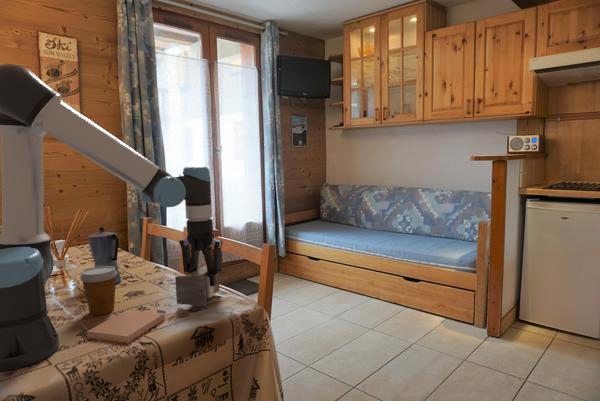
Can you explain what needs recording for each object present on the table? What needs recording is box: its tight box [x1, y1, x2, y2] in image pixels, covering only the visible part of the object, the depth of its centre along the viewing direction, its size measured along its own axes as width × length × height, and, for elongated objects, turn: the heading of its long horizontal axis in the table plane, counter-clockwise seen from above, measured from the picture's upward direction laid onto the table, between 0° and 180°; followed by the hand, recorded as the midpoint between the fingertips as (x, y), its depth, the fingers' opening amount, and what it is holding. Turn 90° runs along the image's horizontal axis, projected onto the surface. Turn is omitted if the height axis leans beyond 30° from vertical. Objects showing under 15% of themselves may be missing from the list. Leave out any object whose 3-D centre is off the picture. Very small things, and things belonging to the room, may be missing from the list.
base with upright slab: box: [51, 239, 70, 264], centre depth 157 cm, size 9×9×12 cm
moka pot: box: [87, 226, 122, 285], centre depth 141 cm, size 10×15×20 cm, turn 62°
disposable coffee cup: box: [79, 266, 117, 316], centre depth 115 cm, size 10×10×12 cm
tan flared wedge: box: [174, 265, 220, 307], centre depth 120 cm, size 13×9×8 cm
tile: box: [86, 309, 166, 344], centre depth 103 cm, size 2×12×14 cm
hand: (203, 295), depth 121 cm, fingers closed on tan flared wedge, 4 cm apart
